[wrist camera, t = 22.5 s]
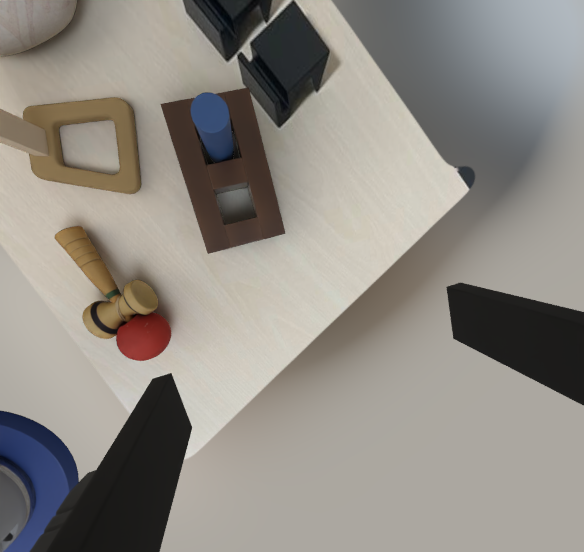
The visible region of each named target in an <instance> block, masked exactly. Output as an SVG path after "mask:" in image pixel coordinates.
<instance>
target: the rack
mask: <svg viewBox="0 0 584 552" xmlns="http://www.w3.org/2000/svg"><path fill="white" fill-rule="evenodd" d="M216 95H218V96H220V97H221V98H222V99H223V100H224V101H225V103H226V104H227V106H228V109H229V115H230V123H231V131H233V134H234V137H235V141H236V145H237V149H238V152H239V156H240V158H237V159H232V160H228V161H223V162H219V163H214V164H209V165H208V163H207V160H206V156H205V153H204V150H203V146H202V143H201V140H200V138H201V137H200V135H199V133H198V130H197V128H196V126H195V124H194V122H193V120H192V117H191V104H192V102H193V100H194V99H195V98H191V99H187V100H186V99H185V100H180V101H175V102H169V103H164V104H161V107H162V110H163V114H164V117H165V120H166V123H167V126H168V129H169V132H170V136H171V139H172V142H173V145H174V148H175V151H176V155H177V158H178V161H179V164H180V167H181V170H182V173H183V177H184V180H185V183H186V186H187V189H188V192H189V196H190V199H191V202H192V205H193V208H194V211H195V214H196V218H197V221H198V224H199V227H200V230H201V233H202V237H203V240H204V243H205V246H206V249H207V252H208V254H209V253H213V252H217V251H220V250H224V249H228V248H232V247H236V246H239V245H243V244H247V243H251V242H255V241H259V240H262V239H266V238H270V237H274V236H278V235H282V234H285V230H284V226H283V222H282V218H281V214H280V210H279V206H278V202H277V198H276V194H275V190H274V186H273V182H272V178H271V174H270V170H269V166H268V162H267V158H266V154H265V150H264V147H263V143H262V139H261V135H260V131H259V127H258V123H257V119H256V115H255V111H254V107H253V103H252V99H251V95H250V91H249V88H244V89H239V90H233V91H228V92H223V93H217V94H216ZM245 187H248V189H249V193H250V196H251V200H252V204H253V207H254V211H255V215H256V217H255V218H251V219H247V220H243V221H239V222H235V223H231V224H227V225H226V224H225V221H224V217H223V214H222V210H221V207H220V204H219V200H218V197H217V194H220V193H224V192H228V191H232V190H237V189H241V188H245Z"/></svg>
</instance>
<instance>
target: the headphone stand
mask: <svg viewBox="0 0 584 552" xmlns="http://www.w3.org/2000/svg"><path fill="white" fill-rule="evenodd" d="M103 120H112V121H114V123H115V129H116V137H117V146H118V155H119V164H120V170H119V172H118V173H117V174H114V175H111V174H105V173H99V172H94V171H88V170H82V169H77V168H71V167H66V166H65V165H64V163H63V157H62V150H61V143H60V137H59V128H60V126H62V125H68V124H76V123H85V122H94V121H103ZM0 142H1V143H3V144H6V145H9V146H11V147H14V148H16V149H19V150H21V151H24V152H26V153H29V157H30V163H31V169H32V171H33V173H34V174H35V175H36V176H37V177H39V178H41V179H44V180H48V181H54V182H60V183H66V184H72V185H78V186H84V187H90V188H96V189H102V190H108V191H114V192H120V193H126V194H134V193H136V192H137V191H138V190H139V189H140V187H141V178H140V169H139V159H138V149H137V139H136V130H135V120H134V112H133V110H132V108H131V107H130V106H129V105H128V104H127V102H126V101H124V100H123V99H121V98H115V97H114V98H104V99H95V100H85V101H75V102H66V103H56V104H46V105H37V106H29V107H27V108H26V109H25V110H24V111H23V119H21V118H19V117H17V116H14V115H12V114H10V113H8V112H6V111H4V110H2V109H0Z"/></svg>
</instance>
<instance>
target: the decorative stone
mask: <svg viewBox="0 0 584 552" xmlns="http://www.w3.org/2000/svg"><path fill="white" fill-rule="evenodd" d="M76 3H77V0H0V56H5V55H13V54H17V53H20V52H23V51H26V50H28V49H31V48H33V47H35V46H37V45H39V44H41V43H43V42H45V41H47V40H48V39H50V38H52V37H54V36H55V35H57V34H58V33H59V32H61V31H62V30H63V29H64V28H65V27H66V26H67V25H68V24H69V23H70V21H71V19H72V18H73V16H74V13H75V9H76Z"/></svg>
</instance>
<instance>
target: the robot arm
mask: <svg viewBox="0 0 584 552" xmlns="http://www.w3.org/2000/svg"><path fill="white" fill-rule="evenodd" d="M447 293H448V301H449V309H450V316H451V324H452V331H453V338H454V339H455V340H457V341H459V342H461V343H463V344H465V345H467V346H469V347H471V348H473V349H475V350H477V351H479V352H481V353H483V354H485V355H487V356H488V357H490V358H492V359H494V360H496V361H498V362H500V363H502V364H504V365H506V366H508V367H510V368H512V369H514V370H516V371H518V372H520V373H522V374H523V375H525V376H527V377H529V378H532V379H533V380H535V381H537V382H539V383H541V384H543V385H545V386H547V387H549V388H551V389H553V390H555V391H556V392H559V393H561V394H563V395H564V396H566V397H569V398H570V399H572V400H574V401H576V402H578V403H580V404H582V405H584V312H581V311H577V310H573V309H569V308H565V307H560V306H555V305H552V304H548V303H544V302H539V301H535V300H531V299H527V298H523V297H519V296H514V295H510V294H506V293H502V292H498V291H493V290H489V289H485V288H481V287H477V286H472V285H468V284H464V283H458V284H455V285H451V286H448V287H447ZM191 430H192V426H191V424H190V421H189V418H188V416H187V413H186V410H185V408H184V405H183V403H182V400H181V397H180V395H179V392H178V390H177V387H176V384H175V382H174V379H173V376H172V374H171V373H170V374H167V375H164V376H160V377H157V378H154V379H152V381H151V382H150V384H149V386H148V387H147V389H146V391H145V392H144V394H143V395H142V397H141V399H140V400H139V402H138V403H137V405H136V407H135V408H134V410H133V412H132V413H131V415H130V416H129V418H128V420H127V421H126V423H125V425H124V426H123V428H122V429H121V431H120V433H119V434H118V436H117V438H116V439H115V441H114V442H113V444H112V446H111V448H110V449H109V450H108V452H107V454H106V455H105V457H104V459H103V460H102V462H101V464H100V465H99V467H98V468H97V470H95V471H92V472H89V473H88V474H87V475H86V476H85V477H84V478H83V479H82V480H81V481H80V482H79V483H78V484H77V485H76V486H75V487H74V488H73V489H72V490H71V491H70V492H69V493H68V495H67V496H66V498H65V499H64V501H63V502H62V504H61V505H60V507H59V508H58V510H57V511H56V516H54V517H52V519H51V520H50V522H49V523H48V525H47V526H46V528H45V529H44V534H42V535H40V537H39V538H38V540H37V541H36V543H35V544H34V546H33V547H32V549H31V550H30V552H159V551H160V548H161V544H162V540H163V536H164V532H165V528H166V525H167V521H168V517H169V513H170V510H171V506H172V502H173V498H174V495H175V490H176V487H177V483H178V479H179V476H180V472H181V468H182V464H183V460H184V457H185V453H186V449H187V445H188V441H189V438H190V434H191ZM35 505H36V493H35V489H34V486H33V483H32V481H31V479H30V478H29V476H28V475H27V474H26V472H25V471H24V470H23V469H22V468H21V467H19V466H18V465H17V464H16V463H14V462H13V461H11V460H9V459H7V458H5V457H3V456H1V455H0V552H3V551H4V550H5V549H7V548H8V547H9V545H10V544H12V543H13V541H14V540H15V539H16V538H17V537H18V536H19V534H20V533H21V532H22V530H23V529H24V528H25V526H26V525H27V523H28V522H29V520H30V519H31V517H32V515H33V512H34V509H35Z"/></svg>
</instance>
